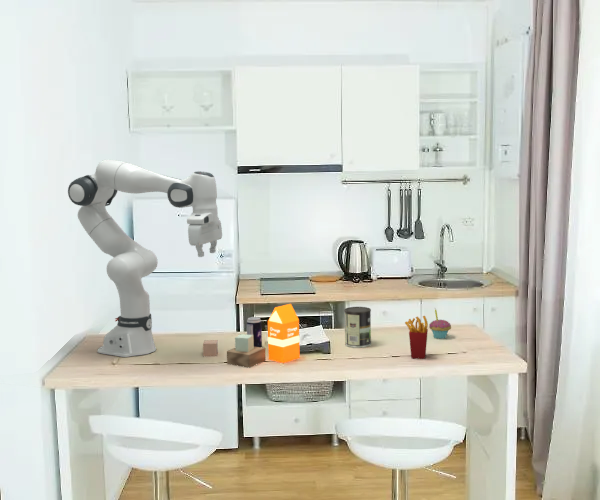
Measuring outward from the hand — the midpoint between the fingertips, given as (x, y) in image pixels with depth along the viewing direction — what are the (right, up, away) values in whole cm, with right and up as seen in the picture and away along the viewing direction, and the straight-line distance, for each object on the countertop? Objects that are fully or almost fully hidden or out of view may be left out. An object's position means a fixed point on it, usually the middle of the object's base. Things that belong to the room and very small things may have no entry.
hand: (206, 254), depth 277 cm
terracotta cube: (0, -38, +12) cm, 40 cm away
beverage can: (+16, -37, +19) cm, 44 cm away
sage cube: (+14, -35, 0) cm, 37 cm away
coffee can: (+56, -35, +22) cm, 70 cm away
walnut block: (+14, -39, +1) cm, 42 cm away
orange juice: (+28, -39, +4) cm, 48 cm away
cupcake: (+90, -34, +30) cm, 101 cm away
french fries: (+77, -37, +4) cm, 85 cm away
